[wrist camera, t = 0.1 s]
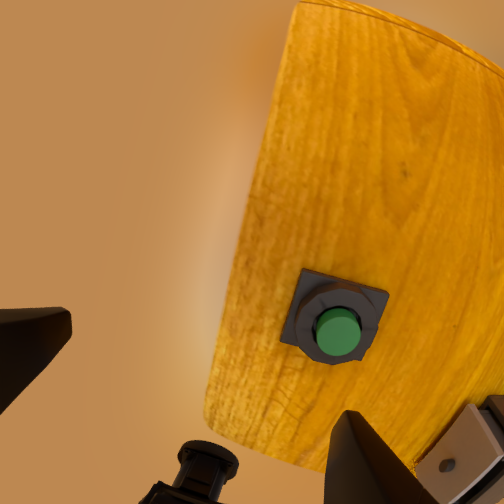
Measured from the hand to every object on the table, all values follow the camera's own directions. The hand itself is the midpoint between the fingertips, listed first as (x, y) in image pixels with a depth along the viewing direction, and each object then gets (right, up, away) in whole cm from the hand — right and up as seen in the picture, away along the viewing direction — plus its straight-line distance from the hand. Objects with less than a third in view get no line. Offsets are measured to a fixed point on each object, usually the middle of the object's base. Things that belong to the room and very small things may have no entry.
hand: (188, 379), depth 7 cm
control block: (+8, -1, +13) cm, 16 cm away
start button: (+8, -2, +11) cm, 14 cm away
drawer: (+27, -19, +12) cm, 36 cm away
